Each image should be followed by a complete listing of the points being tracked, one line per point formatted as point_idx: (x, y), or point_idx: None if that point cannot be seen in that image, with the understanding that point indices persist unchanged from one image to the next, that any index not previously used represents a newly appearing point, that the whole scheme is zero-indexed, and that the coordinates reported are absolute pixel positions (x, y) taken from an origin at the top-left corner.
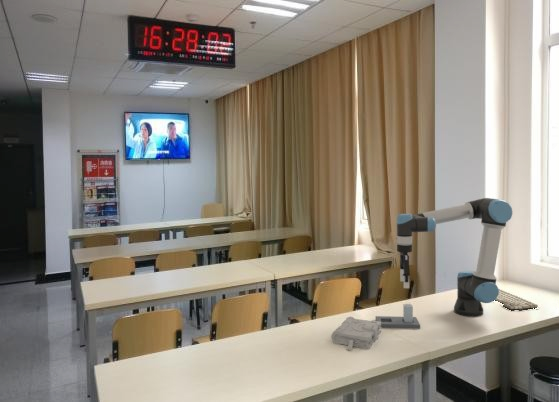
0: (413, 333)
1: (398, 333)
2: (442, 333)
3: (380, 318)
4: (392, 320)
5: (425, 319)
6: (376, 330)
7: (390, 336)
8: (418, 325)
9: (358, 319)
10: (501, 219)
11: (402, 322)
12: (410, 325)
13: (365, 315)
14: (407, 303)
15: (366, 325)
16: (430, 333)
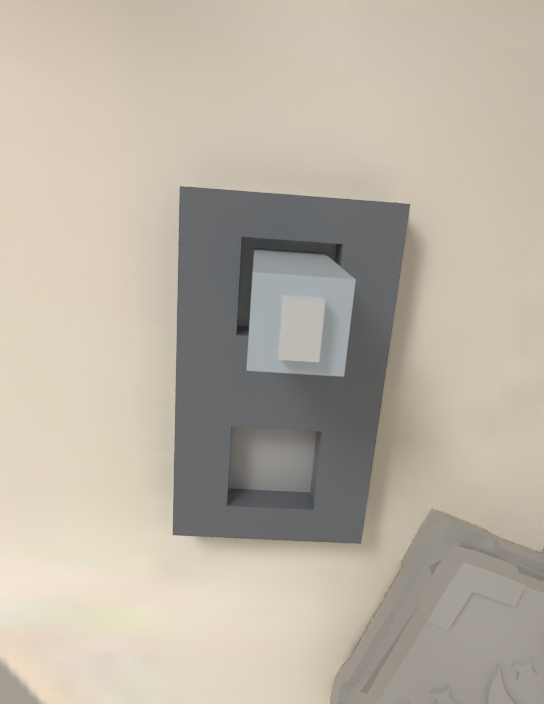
0: (475, 282)
1: (461, 396)
2: (509, 14)
3: (230, 506)
4: (282, 423)
5: (117, 69)
6: None
7: (512, 460)
8: (406, 220)
9: (384, 701)
10: None
11: None
12: (395, 292)
13: (54, 563)
14: (280, 333)
15: (526, 665)
16: (494, 134)
